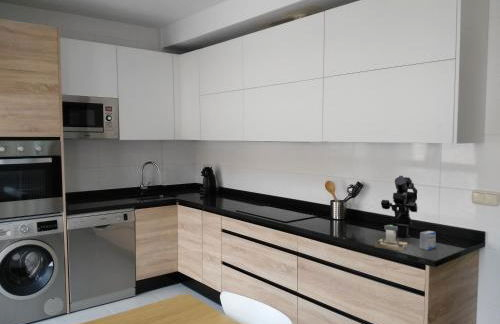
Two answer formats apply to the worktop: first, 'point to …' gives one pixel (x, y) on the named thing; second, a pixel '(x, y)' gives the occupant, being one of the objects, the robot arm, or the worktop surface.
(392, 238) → the white plastic container
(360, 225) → the worktop surface
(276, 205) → the worktop surface
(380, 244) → the tribrach base
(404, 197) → the robot arm
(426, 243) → the medicine box
